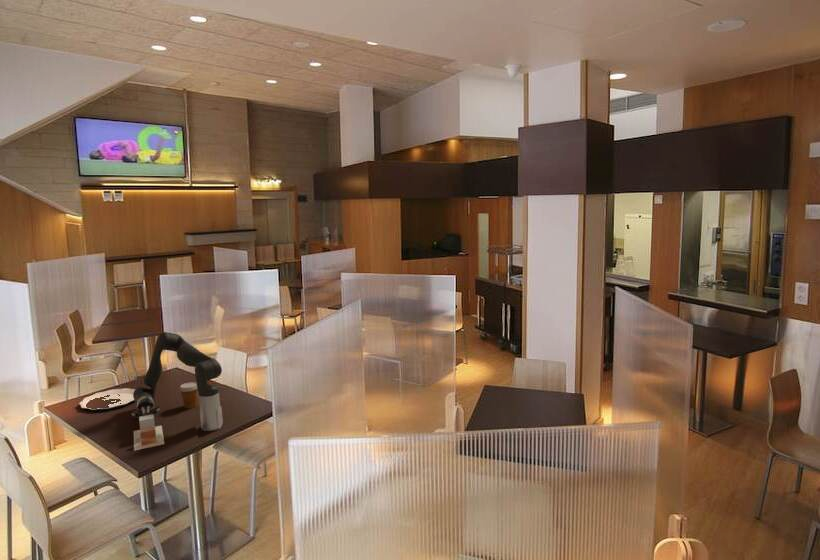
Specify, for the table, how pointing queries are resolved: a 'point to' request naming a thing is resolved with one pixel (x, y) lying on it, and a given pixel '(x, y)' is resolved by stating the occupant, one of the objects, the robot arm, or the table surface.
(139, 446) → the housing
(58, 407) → the table surface
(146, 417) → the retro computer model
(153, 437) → the block
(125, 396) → the plate
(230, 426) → the table surface
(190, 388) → the disposable coffee cup
